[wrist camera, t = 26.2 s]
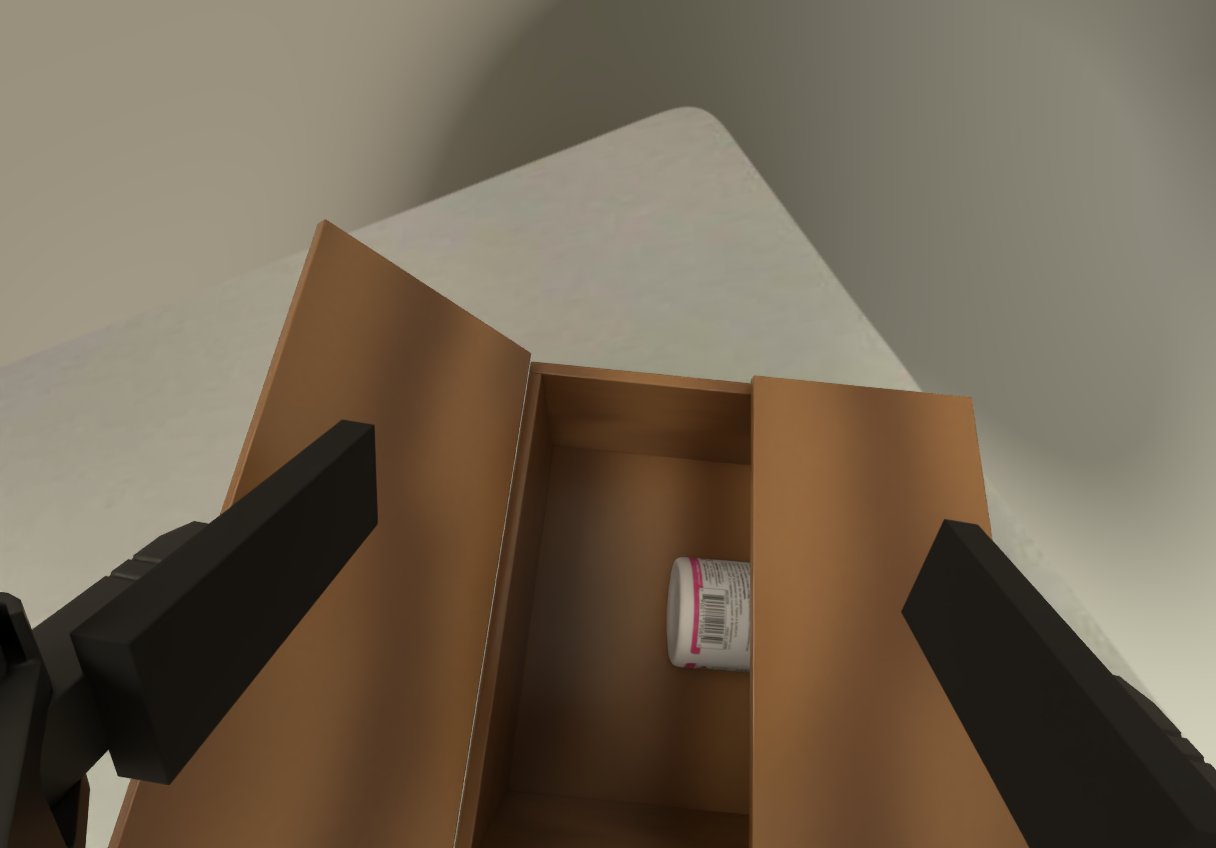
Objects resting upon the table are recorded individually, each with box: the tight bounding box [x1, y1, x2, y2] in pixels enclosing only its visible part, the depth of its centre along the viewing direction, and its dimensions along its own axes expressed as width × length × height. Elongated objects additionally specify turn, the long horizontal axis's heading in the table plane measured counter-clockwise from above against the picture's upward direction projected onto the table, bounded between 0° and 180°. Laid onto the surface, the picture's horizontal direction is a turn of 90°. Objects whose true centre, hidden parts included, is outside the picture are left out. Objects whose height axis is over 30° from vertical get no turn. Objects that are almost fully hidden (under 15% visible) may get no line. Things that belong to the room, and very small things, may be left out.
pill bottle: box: [667, 557, 750, 673], centre depth 26 cm, size 5×5×8 cm
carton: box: [455, 362, 1029, 848], centre depth 23 cm, size 17×17×10 cm
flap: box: [108, 220, 531, 848], centre depth 16 cm, size 8×17×1 cm
